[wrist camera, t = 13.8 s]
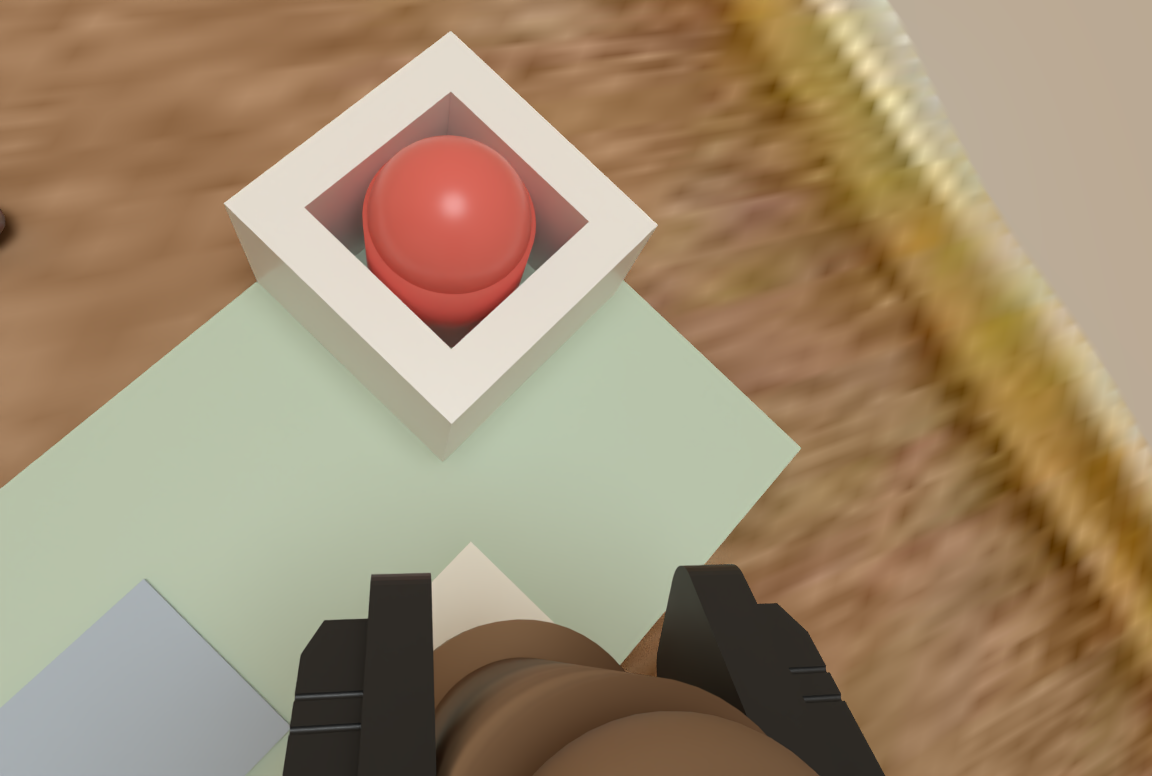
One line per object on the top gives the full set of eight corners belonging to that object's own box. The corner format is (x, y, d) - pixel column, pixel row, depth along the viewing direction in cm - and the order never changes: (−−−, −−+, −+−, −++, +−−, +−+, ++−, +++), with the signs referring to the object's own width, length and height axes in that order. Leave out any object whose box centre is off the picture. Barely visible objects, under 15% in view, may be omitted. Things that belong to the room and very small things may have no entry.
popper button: (336, 273, 23) (316, 171, 18) (444, 183, 24) (454, 64, 19) (443, 377, 23) (455, 304, 18) (546, 280, 24) (585, 187, 19)
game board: (-161, 636, 20) (-190, 637, 19) (453, 135, 26) (455, 117, 25) (265, 1077, 19) (258, 1101, 18) (789, 453, 26) (804, 446, 25)
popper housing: (257, 281, 23) (223, 203, 19) (442, 130, 25) (450, 31, 21) (442, 461, 23) (451, 424, 19) (614, 293, 25) (657, 224, 21)
